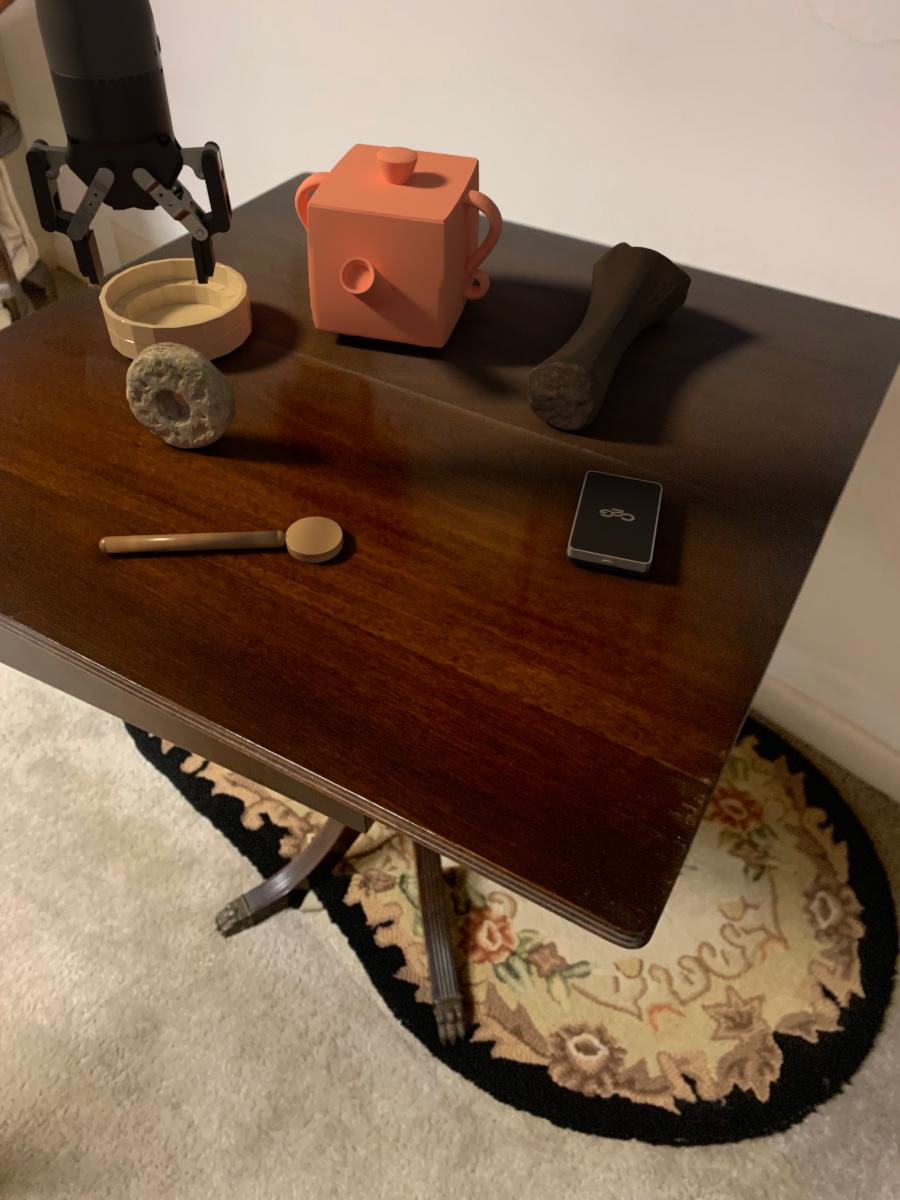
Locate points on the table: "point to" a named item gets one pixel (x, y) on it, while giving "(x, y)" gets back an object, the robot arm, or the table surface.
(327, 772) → the table surface
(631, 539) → the external hard drive
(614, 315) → the dark brown bone
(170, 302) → the bowl
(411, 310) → the teapot
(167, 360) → the stone ring
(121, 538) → the spoon
